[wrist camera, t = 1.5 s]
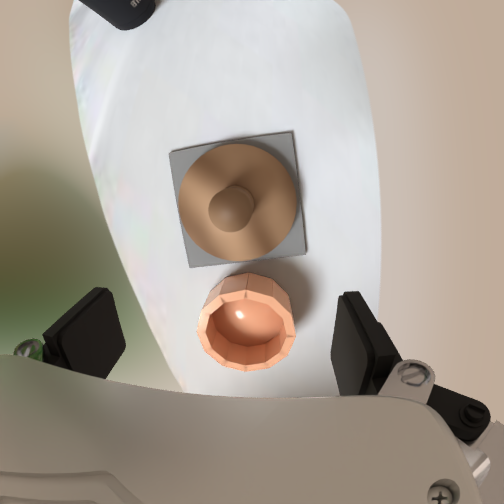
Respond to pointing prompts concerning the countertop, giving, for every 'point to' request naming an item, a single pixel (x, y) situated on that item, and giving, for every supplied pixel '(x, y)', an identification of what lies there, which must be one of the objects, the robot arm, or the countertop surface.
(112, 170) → the countertop surface
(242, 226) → the lid
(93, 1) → the wine bottle
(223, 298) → the bowl
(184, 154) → the mat
